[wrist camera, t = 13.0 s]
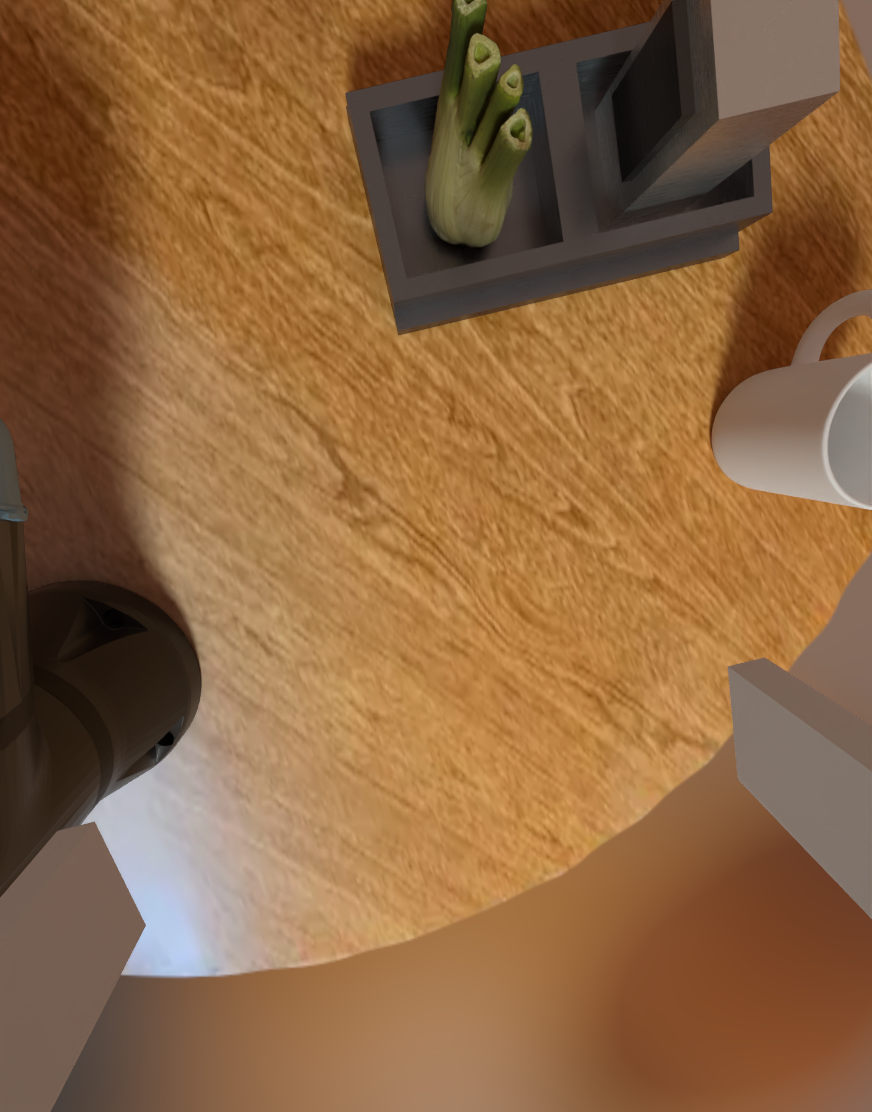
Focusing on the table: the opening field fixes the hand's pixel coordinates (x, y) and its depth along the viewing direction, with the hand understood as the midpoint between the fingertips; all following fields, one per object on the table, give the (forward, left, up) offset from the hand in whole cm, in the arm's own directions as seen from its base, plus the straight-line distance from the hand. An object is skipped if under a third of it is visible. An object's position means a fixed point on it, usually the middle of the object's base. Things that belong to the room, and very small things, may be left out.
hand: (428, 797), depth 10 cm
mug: (+27, +3, -27) cm, 38 cm away
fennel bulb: (+8, +19, -25) cm, 33 cm away
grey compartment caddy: (+14, +19, -27) cm, 35 cm away
